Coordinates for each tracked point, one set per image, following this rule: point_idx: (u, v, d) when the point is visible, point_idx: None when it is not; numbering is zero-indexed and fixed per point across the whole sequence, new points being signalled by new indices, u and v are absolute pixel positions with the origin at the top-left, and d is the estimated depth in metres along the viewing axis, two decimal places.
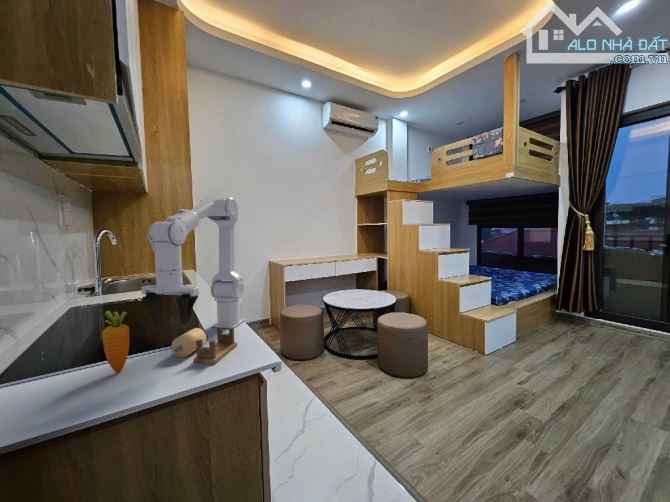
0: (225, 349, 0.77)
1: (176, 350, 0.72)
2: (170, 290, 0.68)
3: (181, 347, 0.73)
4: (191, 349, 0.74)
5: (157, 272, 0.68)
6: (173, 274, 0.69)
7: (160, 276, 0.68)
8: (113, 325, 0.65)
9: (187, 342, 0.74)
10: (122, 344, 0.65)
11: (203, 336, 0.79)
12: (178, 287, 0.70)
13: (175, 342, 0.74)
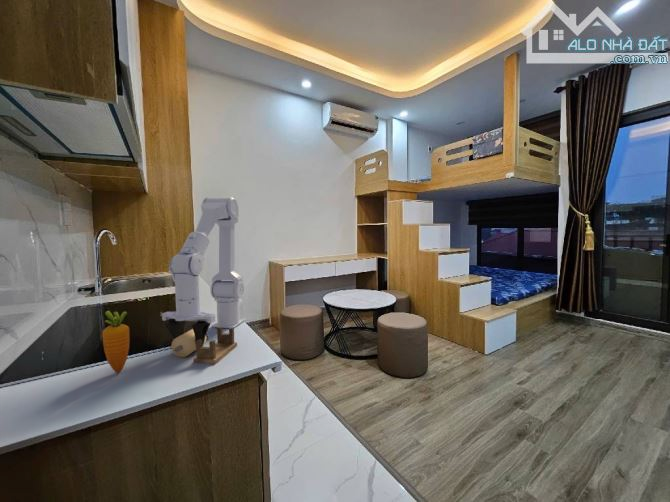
0: (225, 349, 0.77)
1: (176, 350, 0.72)
2: (189, 318, 0.74)
3: (181, 347, 0.73)
4: (191, 349, 0.74)
5: (177, 301, 0.74)
6: (192, 303, 0.75)
7: (180, 305, 0.74)
8: (113, 325, 0.65)
9: (187, 342, 0.74)
10: (122, 344, 0.65)
11: None
12: (196, 314, 0.76)
13: (175, 341, 0.74)
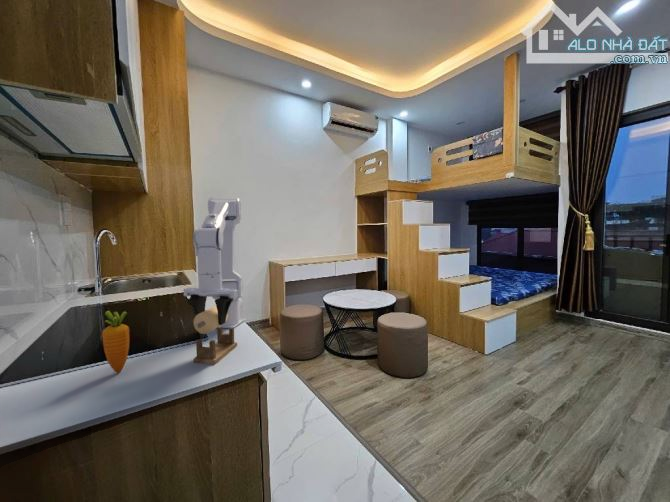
0: (225, 349, 0.77)
1: (199, 325, 0.71)
2: (212, 292, 0.72)
3: (204, 323, 0.72)
4: (214, 325, 0.72)
5: (200, 275, 0.72)
6: (214, 277, 0.73)
7: (203, 279, 0.72)
8: (113, 325, 0.65)
9: (210, 318, 0.72)
10: (122, 344, 0.65)
11: None
12: (219, 289, 0.74)
13: (197, 317, 0.72)
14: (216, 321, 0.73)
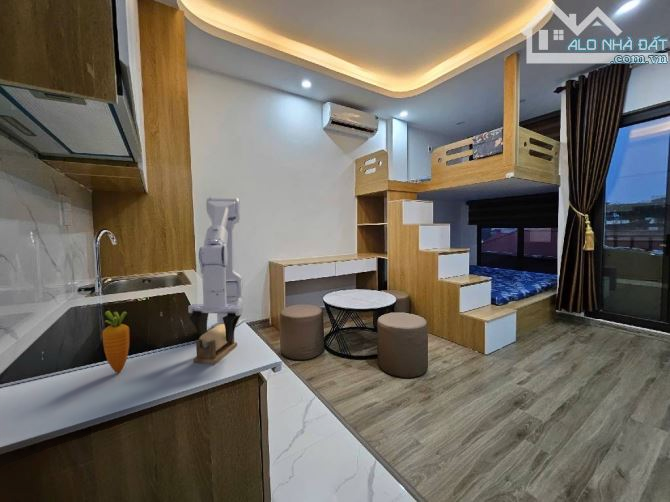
0: (225, 349, 0.77)
1: (204, 346, 0.71)
2: (217, 310, 0.73)
3: None
4: (219, 345, 0.73)
5: (205, 293, 0.73)
6: (219, 295, 0.73)
7: (208, 297, 0.72)
8: (113, 325, 0.65)
9: (214, 338, 0.72)
10: (122, 344, 0.65)
11: None
12: (223, 306, 0.74)
13: (202, 338, 0.73)
14: (221, 340, 0.74)
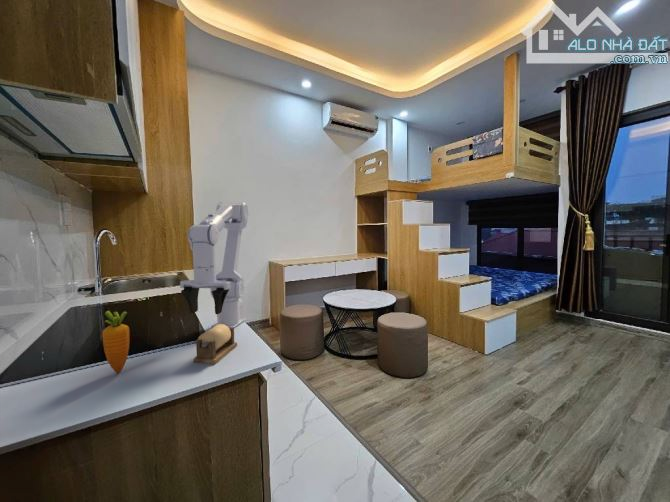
0: (225, 349, 0.77)
1: (203, 346, 0.71)
2: (206, 284, 0.79)
3: (207, 342, 0.72)
4: (217, 339, 0.73)
5: (195, 268, 0.79)
6: (209, 270, 0.79)
7: (198, 272, 0.78)
8: (113, 325, 0.65)
9: (209, 334, 0.72)
10: (122, 344, 0.65)
11: (224, 327, 0.78)
12: (213, 281, 0.80)
13: None
14: (217, 335, 0.74)
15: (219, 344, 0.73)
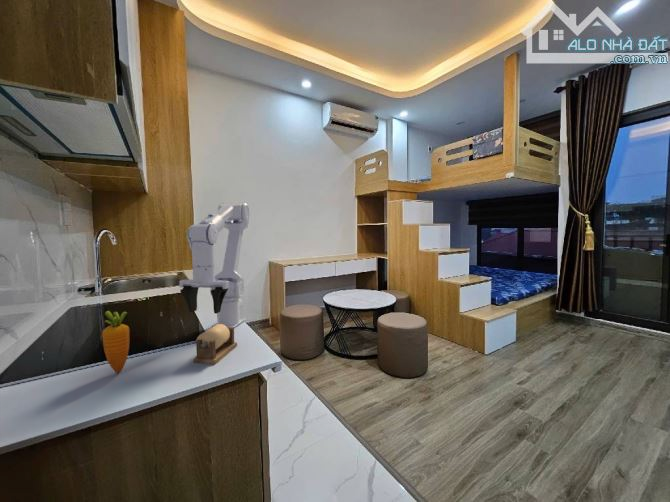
0: (225, 349, 0.77)
1: (202, 346, 0.71)
2: (205, 283, 0.79)
3: (205, 342, 0.72)
4: (212, 335, 0.73)
5: (194, 268, 0.79)
6: (208, 269, 0.80)
7: (197, 271, 0.79)
8: (113, 325, 0.65)
9: (203, 334, 0.72)
10: (122, 344, 0.65)
11: (219, 325, 0.78)
12: (211, 281, 0.81)
13: None
14: (212, 331, 0.74)
15: (218, 339, 0.73)
